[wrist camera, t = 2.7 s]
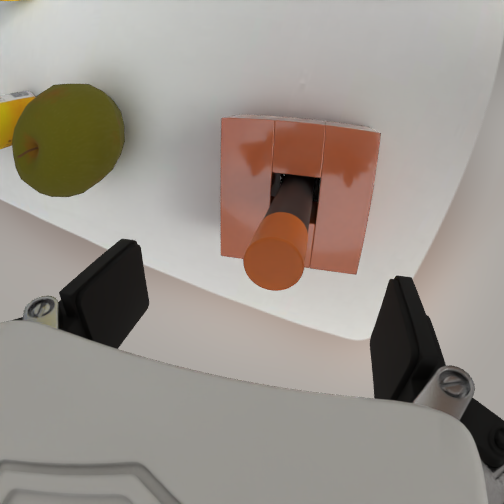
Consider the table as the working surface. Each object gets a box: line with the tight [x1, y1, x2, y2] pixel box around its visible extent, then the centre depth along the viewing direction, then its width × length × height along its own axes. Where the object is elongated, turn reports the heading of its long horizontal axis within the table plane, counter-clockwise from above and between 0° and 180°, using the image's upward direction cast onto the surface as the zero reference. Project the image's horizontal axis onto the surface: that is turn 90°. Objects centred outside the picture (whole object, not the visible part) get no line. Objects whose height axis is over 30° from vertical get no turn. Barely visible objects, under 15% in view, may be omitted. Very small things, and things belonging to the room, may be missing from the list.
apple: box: [12, 84, 125, 197], centre depth 22 cm, size 10×10×11 cm
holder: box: [221, 114, 381, 274], centre depth 23 cm, size 10×10×5 cm
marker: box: [243, 174, 315, 290], centre depth 19 cm, size 2×2×14 cm
